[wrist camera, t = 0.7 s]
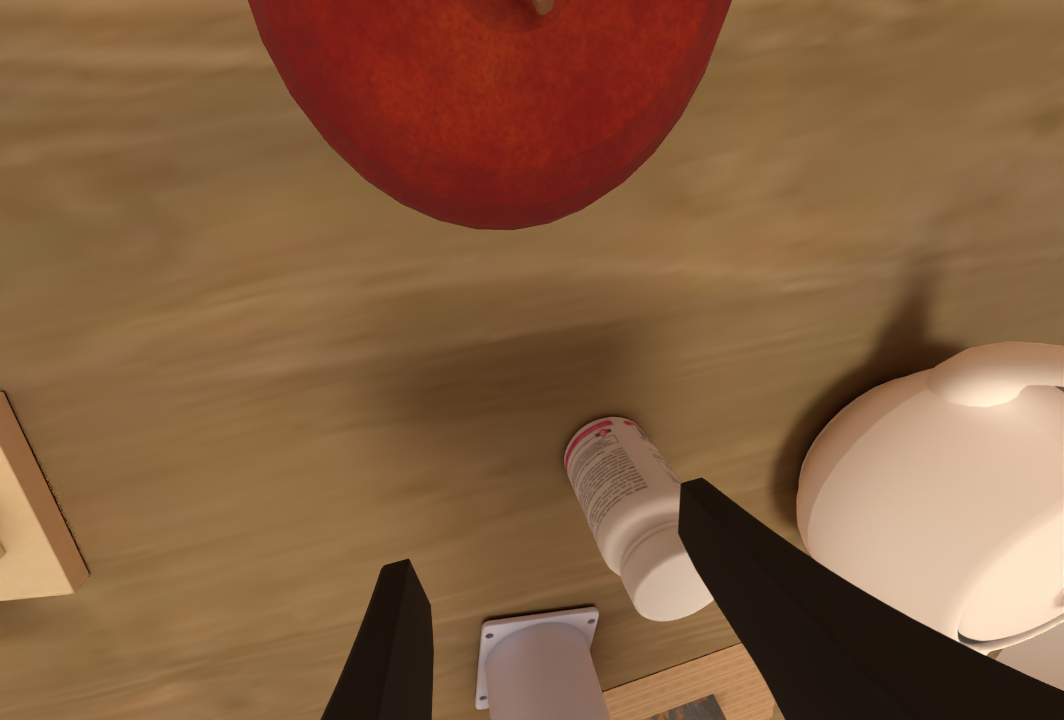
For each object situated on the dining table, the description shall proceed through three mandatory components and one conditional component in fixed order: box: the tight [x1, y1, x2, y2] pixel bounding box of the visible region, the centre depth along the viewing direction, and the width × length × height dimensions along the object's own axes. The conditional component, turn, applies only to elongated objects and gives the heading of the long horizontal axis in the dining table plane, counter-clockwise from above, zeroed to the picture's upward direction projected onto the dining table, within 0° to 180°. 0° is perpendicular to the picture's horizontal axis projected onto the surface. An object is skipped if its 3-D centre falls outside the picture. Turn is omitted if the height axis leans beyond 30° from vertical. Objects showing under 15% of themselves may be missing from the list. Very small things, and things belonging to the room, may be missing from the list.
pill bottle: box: [564, 417, 714, 621], centre depth 20 cm, size 5×5×8 cm
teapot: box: [796, 341, 1064, 656], centre depth 22 cm, size 25×16×12 cm, turn 13°
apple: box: [248, 0, 732, 230], centre depth 10 cm, size 10×10×10 cm
